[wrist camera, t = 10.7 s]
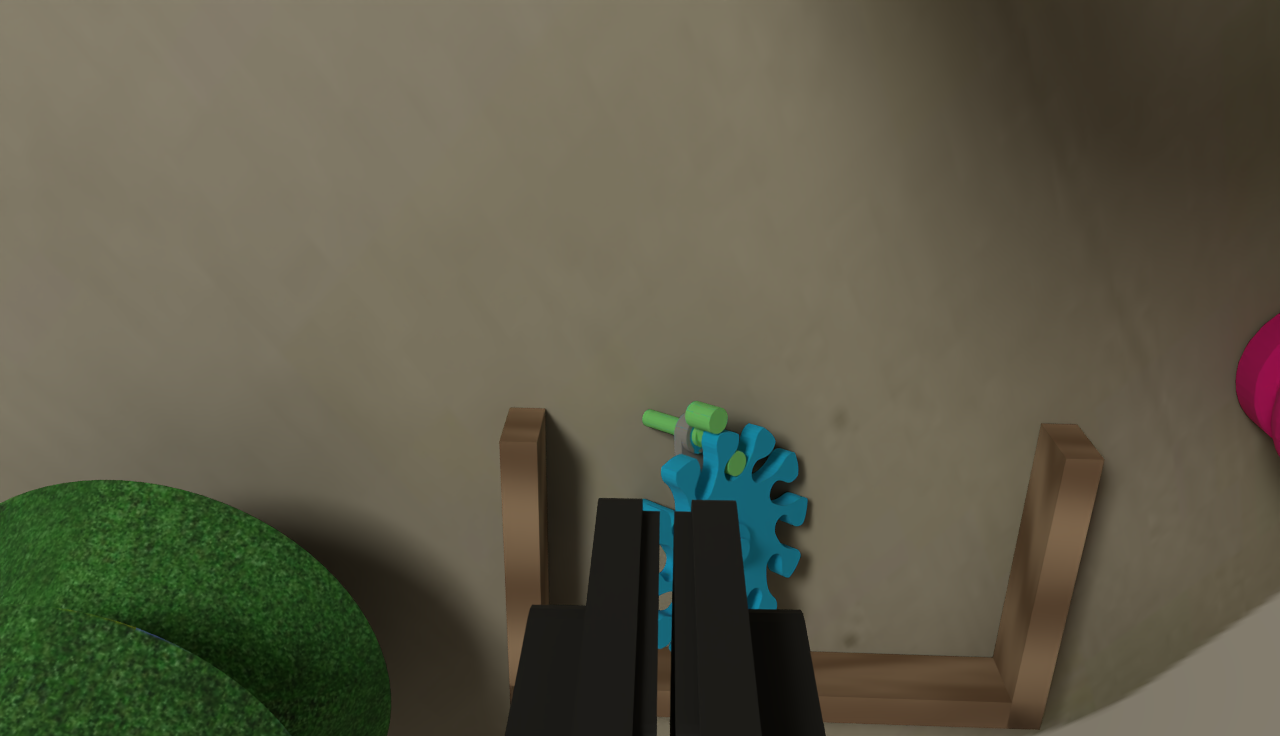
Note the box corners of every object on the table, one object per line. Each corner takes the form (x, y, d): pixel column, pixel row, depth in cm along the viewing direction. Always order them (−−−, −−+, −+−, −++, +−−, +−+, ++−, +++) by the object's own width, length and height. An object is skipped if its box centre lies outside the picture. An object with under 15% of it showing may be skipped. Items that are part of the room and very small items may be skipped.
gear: (817, 614, 46) (656, 713, 39) (720, 572, 50) (559, 655, 43) (819, 378, 43) (644, 443, 36) (715, 354, 47) (541, 408, 40)
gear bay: (510, 407, 44) (499, 441, 41) (1076, 424, 43) (1104, 459, 40) (519, 666, 49) (510, 711, 47) (1019, 683, 49) (1039, 729, 46)
